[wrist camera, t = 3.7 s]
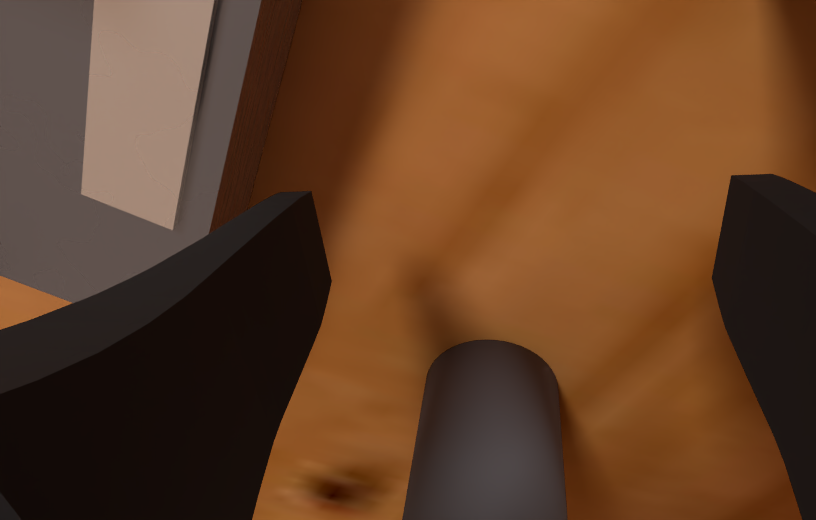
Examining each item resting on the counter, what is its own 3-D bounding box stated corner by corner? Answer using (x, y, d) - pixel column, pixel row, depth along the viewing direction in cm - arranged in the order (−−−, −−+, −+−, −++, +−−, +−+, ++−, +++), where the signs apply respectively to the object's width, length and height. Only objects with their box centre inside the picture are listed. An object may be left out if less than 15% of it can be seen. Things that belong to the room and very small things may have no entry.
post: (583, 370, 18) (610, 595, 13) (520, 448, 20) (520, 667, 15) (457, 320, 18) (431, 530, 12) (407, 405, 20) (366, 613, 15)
